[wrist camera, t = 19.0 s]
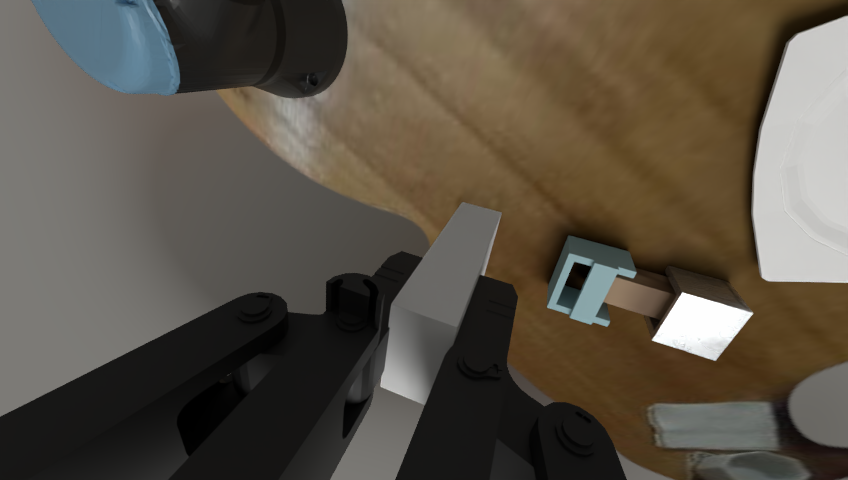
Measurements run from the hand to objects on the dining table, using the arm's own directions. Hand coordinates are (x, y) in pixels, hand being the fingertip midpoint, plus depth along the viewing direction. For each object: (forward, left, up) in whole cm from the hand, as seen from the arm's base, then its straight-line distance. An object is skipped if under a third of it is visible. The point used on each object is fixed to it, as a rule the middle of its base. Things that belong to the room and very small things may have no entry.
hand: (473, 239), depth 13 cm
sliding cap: (+12, -15, -29) cm, 35 cm away
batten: (+18, -15, -30) cm, 38 cm away
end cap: (+22, -15, -29) cm, 40 cm away
